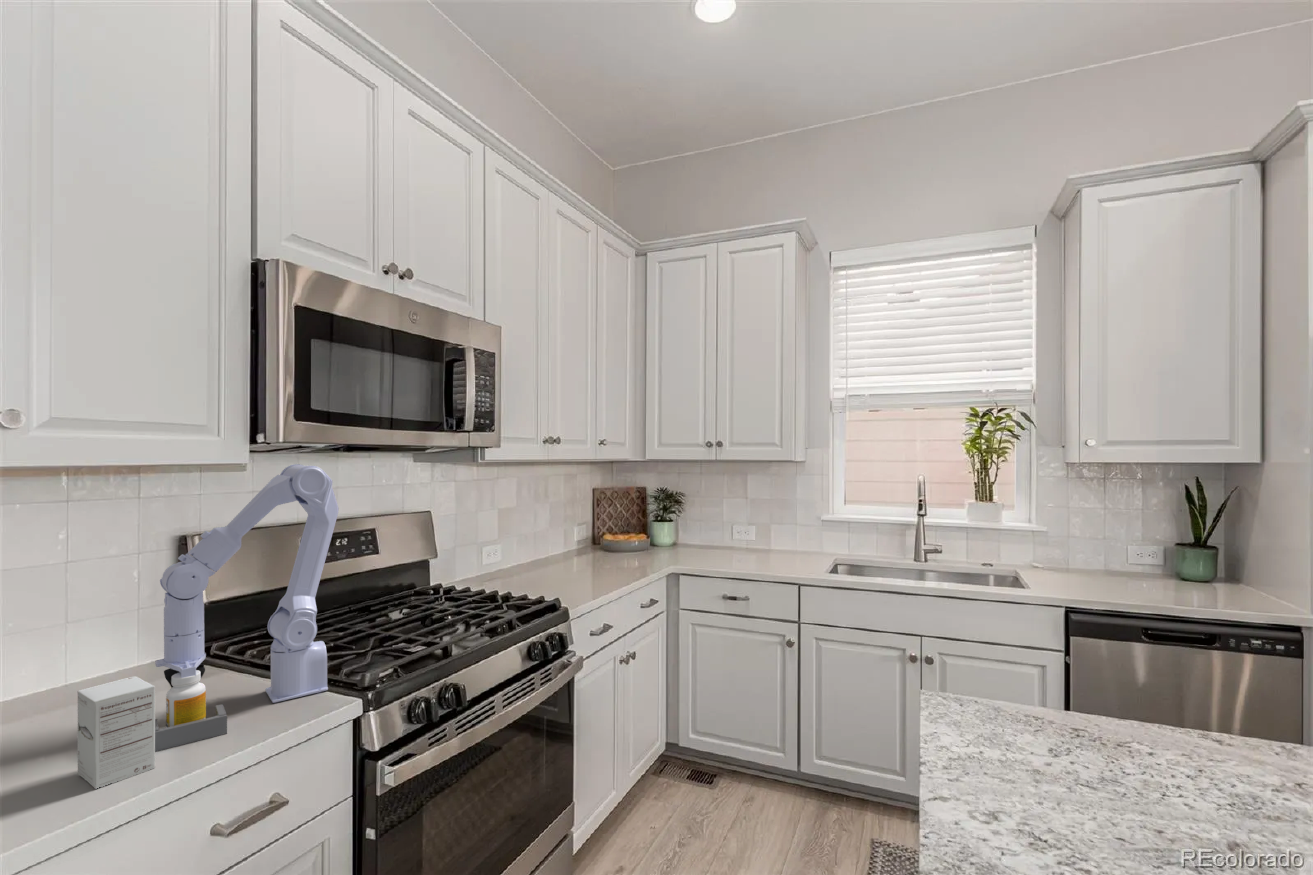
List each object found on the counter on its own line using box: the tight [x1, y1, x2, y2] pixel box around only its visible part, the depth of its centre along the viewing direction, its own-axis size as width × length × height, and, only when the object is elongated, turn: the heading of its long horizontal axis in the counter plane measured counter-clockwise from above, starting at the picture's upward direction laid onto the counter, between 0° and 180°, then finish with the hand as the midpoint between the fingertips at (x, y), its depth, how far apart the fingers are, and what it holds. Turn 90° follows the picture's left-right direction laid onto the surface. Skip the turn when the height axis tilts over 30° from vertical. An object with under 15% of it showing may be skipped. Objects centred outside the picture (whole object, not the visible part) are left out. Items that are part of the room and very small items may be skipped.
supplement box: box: [77, 675, 156, 790], centre depth 95 cm, size 7×7×13 cm
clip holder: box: [155, 703, 228, 752], centre depth 106 cm, size 10×6×3 cm, turn 130°
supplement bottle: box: [165, 670, 207, 728], centre depth 108 cm, size 5×5×10 cm
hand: (184, 709), depth 113 cm, fingers closed
